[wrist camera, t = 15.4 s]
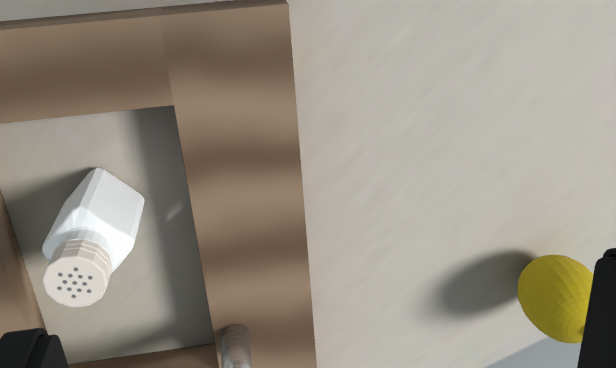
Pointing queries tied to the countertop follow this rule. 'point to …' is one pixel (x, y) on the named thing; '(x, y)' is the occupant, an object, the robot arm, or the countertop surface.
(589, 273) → the lemon
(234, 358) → the metal grab handle
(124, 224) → the pepper shaker
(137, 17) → the wooden frame with handle
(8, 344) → the robot arm
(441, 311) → the countertop surface
